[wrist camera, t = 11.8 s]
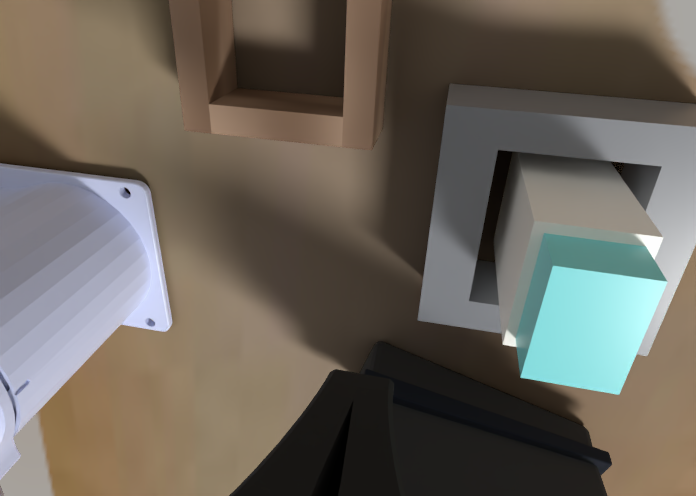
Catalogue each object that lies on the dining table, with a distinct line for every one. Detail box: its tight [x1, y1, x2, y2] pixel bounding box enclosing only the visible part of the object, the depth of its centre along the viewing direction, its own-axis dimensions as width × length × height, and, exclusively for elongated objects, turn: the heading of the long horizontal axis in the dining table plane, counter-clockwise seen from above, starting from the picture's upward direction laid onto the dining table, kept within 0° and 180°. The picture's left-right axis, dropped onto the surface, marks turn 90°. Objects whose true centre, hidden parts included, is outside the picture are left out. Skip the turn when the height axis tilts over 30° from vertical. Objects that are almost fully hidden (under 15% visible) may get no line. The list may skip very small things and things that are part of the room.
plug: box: [493, 151, 668, 395], centre depth 16 cm, size 3×4×8 cm
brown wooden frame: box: [169, 0, 392, 150], centre depth 16 cm, size 7×8×2 cm
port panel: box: [418, 84, 696, 356], centre depth 18 cm, size 8×8×3 cm
